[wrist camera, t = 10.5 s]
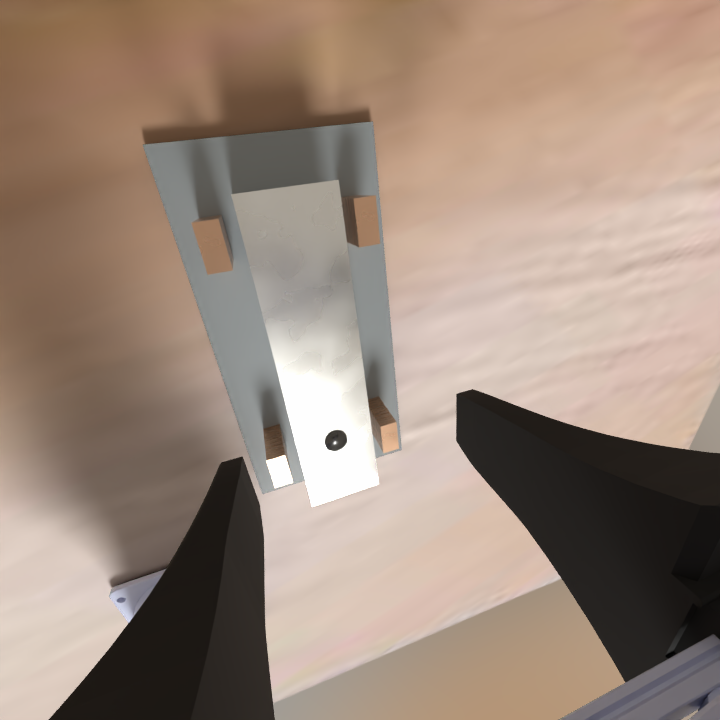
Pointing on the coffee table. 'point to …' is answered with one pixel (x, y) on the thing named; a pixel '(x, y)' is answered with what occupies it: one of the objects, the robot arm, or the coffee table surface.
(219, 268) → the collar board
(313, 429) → the silver long block
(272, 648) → the coffee table surface
